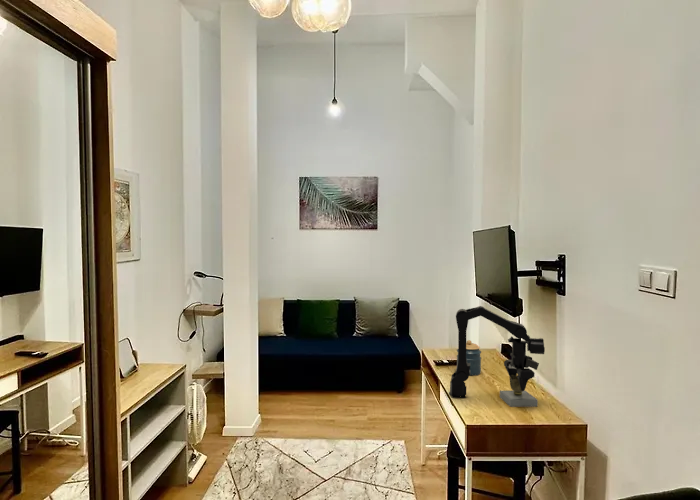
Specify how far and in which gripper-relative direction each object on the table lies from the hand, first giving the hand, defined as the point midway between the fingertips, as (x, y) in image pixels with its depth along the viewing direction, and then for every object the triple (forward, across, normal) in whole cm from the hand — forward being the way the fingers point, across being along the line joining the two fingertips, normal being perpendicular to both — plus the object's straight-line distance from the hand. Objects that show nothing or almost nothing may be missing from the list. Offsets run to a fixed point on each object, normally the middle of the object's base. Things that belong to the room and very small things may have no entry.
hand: (518, 387), depth 199 cm
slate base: (+6, 0, 0) cm, 6 cm away
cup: (+4, 0, 0) cm, 4 cm away
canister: (+7, +45, +8) cm, 46 cm away
